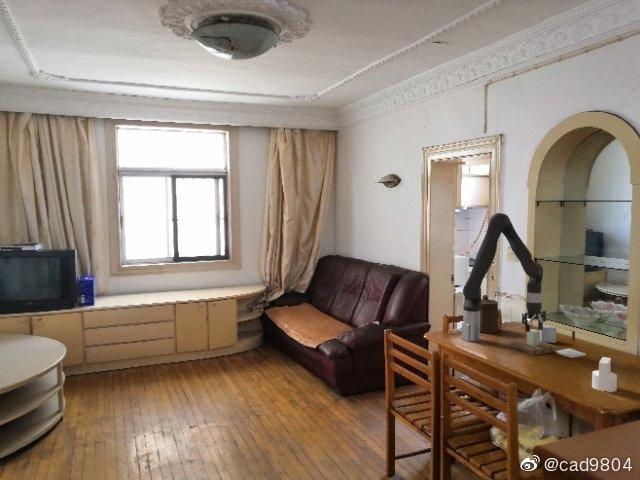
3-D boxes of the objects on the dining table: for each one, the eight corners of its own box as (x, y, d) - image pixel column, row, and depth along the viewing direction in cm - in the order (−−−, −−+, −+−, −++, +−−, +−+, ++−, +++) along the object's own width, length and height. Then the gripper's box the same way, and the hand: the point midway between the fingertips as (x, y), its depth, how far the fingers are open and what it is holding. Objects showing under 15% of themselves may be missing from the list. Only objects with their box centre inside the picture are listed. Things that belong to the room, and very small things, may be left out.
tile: (571, 358, 241) (571, 356, 241) (555, 352, 250) (555, 350, 250) (585, 355, 244) (586, 354, 244) (569, 349, 254) (569, 348, 254)
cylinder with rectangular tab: (594, 382, 209) (594, 355, 208) (618, 387, 203) (619, 359, 202) (590, 388, 202) (590, 360, 201) (614, 393, 196) (615, 365, 195)
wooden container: (485, 326, 304) (485, 292, 303) (503, 331, 291) (503, 296, 289) (467, 329, 298) (467, 294, 296) (484, 334, 285) (485, 298, 283)
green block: (532, 350, 254) (533, 332, 253) (526, 348, 258) (526, 330, 257) (539, 349, 255) (539, 331, 255) (533, 347, 260) (533, 329, 259)
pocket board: (532, 355, 246) (532, 350, 246) (510, 346, 261) (510, 341, 261) (556, 351, 252) (556, 346, 252) (533, 343, 267) (533, 338, 267)
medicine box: (553, 340, 271) (553, 325, 270) (556, 343, 266) (556, 327, 266) (538, 340, 272) (538, 325, 271) (541, 342, 267) (541, 327, 266)
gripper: (539, 298, 261) (538, 327, 262) (518, 300, 256) (518, 330, 257) (550, 300, 254) (549, 330, 255) (528, 303, 249) (528, 333, 250)
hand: (533, 330), depth 256 cm, fingers open, 8 cm apart
